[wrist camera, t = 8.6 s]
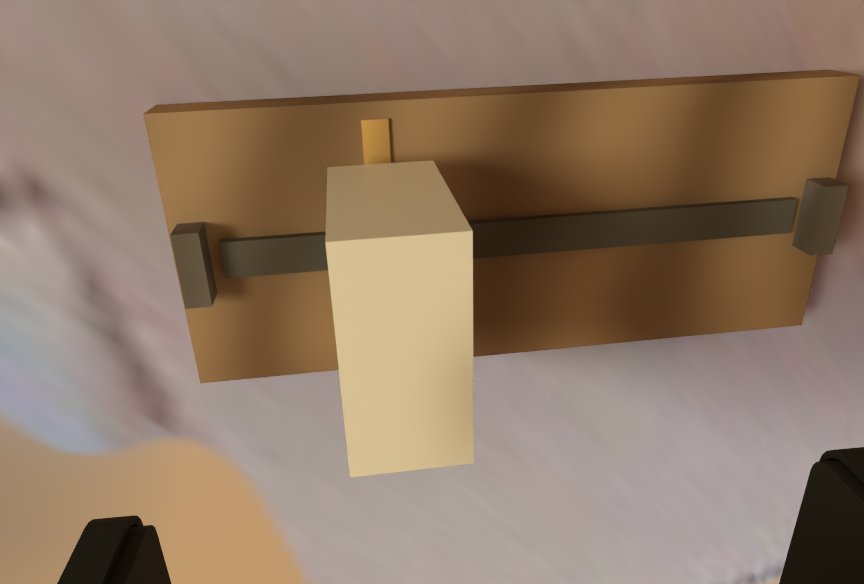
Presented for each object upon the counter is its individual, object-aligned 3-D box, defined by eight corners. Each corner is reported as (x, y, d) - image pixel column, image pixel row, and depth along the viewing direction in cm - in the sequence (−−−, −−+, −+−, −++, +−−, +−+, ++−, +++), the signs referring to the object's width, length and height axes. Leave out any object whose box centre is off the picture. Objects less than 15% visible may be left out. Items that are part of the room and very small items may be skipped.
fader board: (828, 69, 22) (884, 79, 20) (777, 307, 26) (819, 337, 24) (155, 105, 20) (133, 120, 18) (207, 360, 24) (195, 400, 22)
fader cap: (429, 153, 20) (472, 231, 14) (434, 331, 22) (473, 463, 16) (327, 160, 19) (325, 242, 13) (345, 339, 22) (349, 477, 16)
